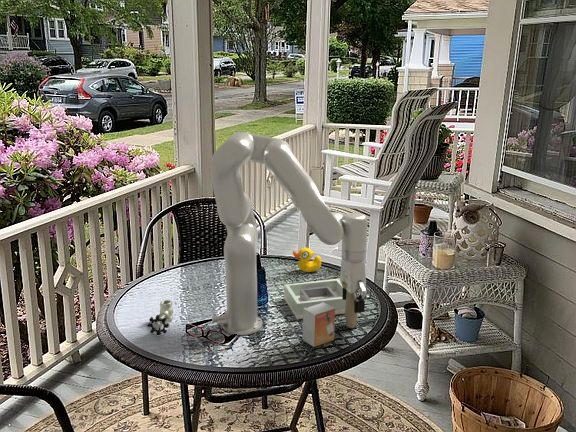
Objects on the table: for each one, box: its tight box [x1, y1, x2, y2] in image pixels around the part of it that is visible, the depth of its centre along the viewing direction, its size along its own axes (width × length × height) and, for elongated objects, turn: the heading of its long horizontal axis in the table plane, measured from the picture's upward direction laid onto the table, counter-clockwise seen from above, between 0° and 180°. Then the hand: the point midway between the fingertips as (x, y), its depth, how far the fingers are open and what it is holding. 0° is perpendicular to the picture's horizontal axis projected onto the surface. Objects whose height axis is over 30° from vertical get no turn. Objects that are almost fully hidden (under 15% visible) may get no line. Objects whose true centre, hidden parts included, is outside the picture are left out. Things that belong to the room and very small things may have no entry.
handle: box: [342, 281, 359, 329], centre depth 166 cm, size 5×6×15 cm
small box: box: [302, 302, 336, 348], centre depth 158 cm, size 8×6×10 cm
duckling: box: [292, 247, 322, 273], centre depth 210 cm, size 11×5×10 cm, turn 95°
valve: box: [146, 299, 174, 336], centre depth 167 cm, size 7×7×12 cm
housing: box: [283, 278, 346, 320], centre depth 181 cm, size 20×16×6 cm
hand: (353, 305), depth 166 cm, fingers open, 9 cm apart
